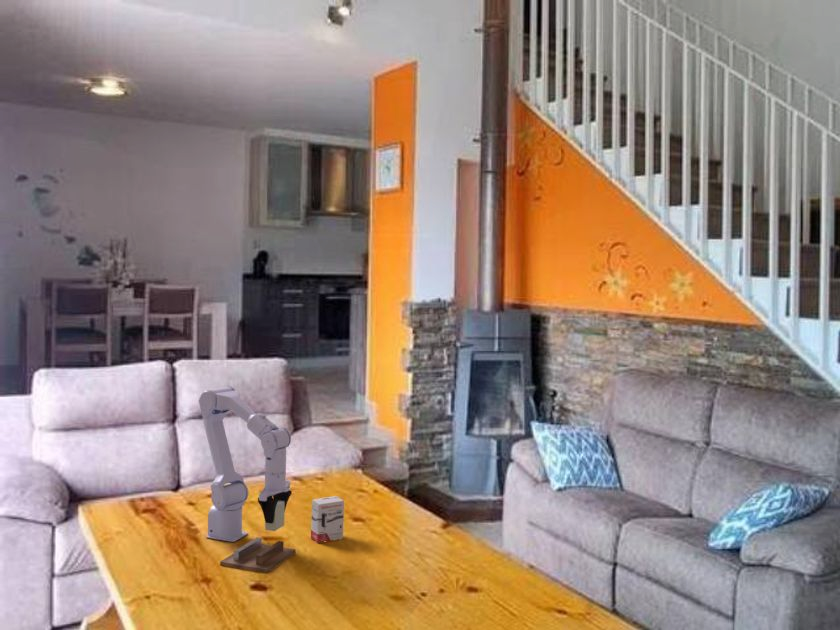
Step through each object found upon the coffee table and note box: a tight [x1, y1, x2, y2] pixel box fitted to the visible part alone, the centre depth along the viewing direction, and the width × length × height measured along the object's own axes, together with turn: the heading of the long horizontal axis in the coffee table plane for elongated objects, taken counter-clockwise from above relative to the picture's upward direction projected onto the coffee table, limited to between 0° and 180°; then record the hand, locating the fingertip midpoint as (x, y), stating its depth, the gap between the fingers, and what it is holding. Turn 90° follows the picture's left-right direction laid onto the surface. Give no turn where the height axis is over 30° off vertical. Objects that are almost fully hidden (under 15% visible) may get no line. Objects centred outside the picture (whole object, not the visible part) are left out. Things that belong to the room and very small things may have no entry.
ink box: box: [310, 495, 345, 544], centre depth 230 cm, size 8×5×12 cm, turn 123°
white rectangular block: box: [264, 500, 285, 532], centre depth 219 cm, size 3×6×7 cm, turn 162°
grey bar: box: [233, 537, 263, 561], centre depth 214 cm, size 2×12×2 cm, turn 161°
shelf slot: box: [219, 540, 297, 574], centre depth 213 cm, size 14×16×4 cm
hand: (274, 519), depth 219 cm, fingers closed on white rectangular block, 5 cm apart
